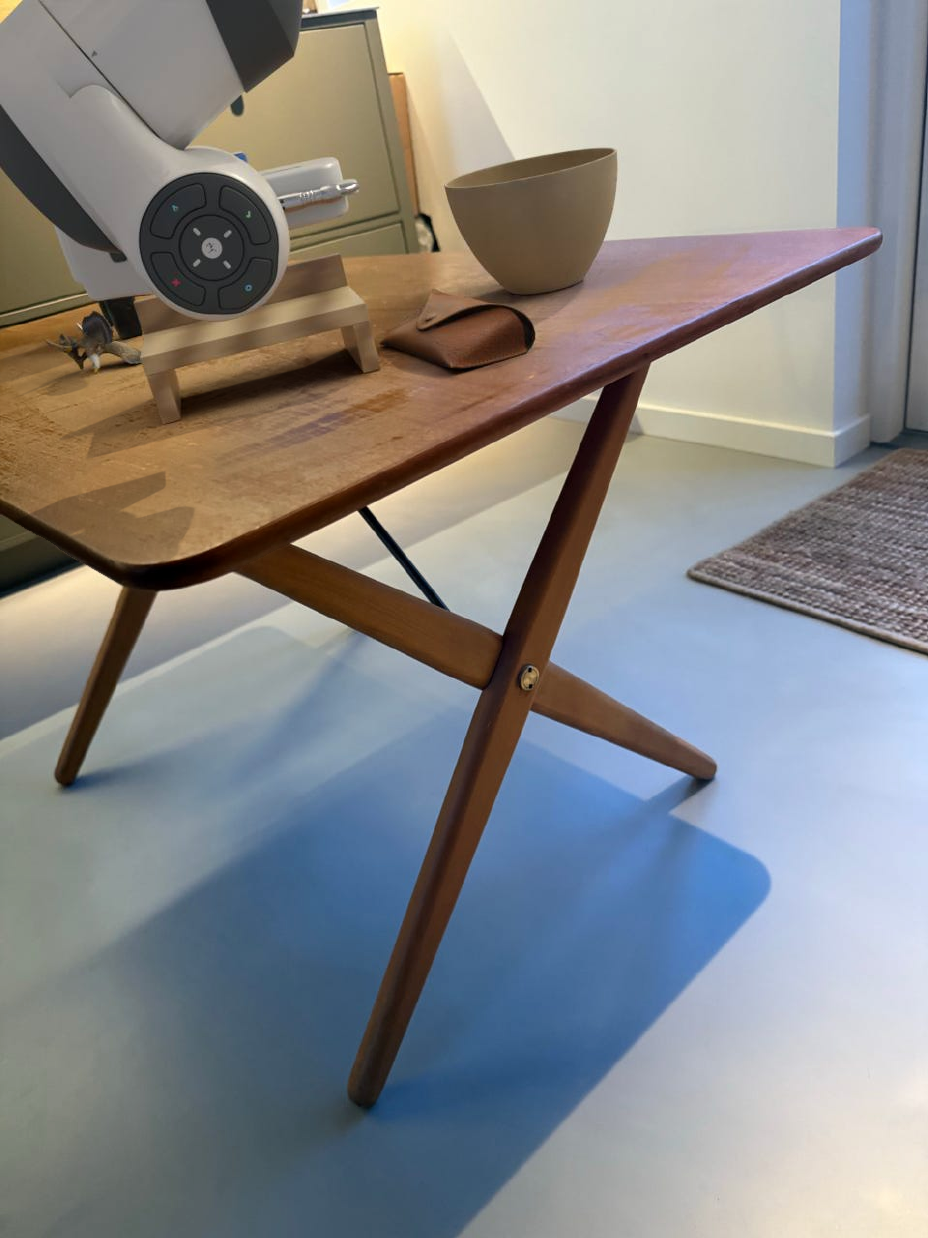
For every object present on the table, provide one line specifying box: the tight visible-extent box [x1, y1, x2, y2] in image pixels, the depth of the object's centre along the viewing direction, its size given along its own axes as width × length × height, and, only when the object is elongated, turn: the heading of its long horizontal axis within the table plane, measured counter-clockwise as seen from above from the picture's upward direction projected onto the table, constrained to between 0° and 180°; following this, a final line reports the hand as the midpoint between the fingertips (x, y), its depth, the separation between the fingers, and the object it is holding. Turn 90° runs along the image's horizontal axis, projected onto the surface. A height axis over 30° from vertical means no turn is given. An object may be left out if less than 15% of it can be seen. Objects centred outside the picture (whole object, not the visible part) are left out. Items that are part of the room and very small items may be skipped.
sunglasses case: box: [378, 288, 536, 370], centre depth 92 cm, size 18×7×7 cm
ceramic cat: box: [96, 297, 144, 340], centre depth 132 cm, size 20×6×20 cm, turn 23°
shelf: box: [134, 252, 381, 425], centre depth 92 cm, size 20×12×9 cm, turn 104°
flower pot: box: [443, 147, 618, 296], centre depth 106 cm, size 18×18×12 cm
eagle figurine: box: [44, 310, 142, 374], centre depth 114 cm, size 8×7×9 cm
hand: (203, 206), depth 76 cm, fingers closed on medicine box, 8 cm apart
